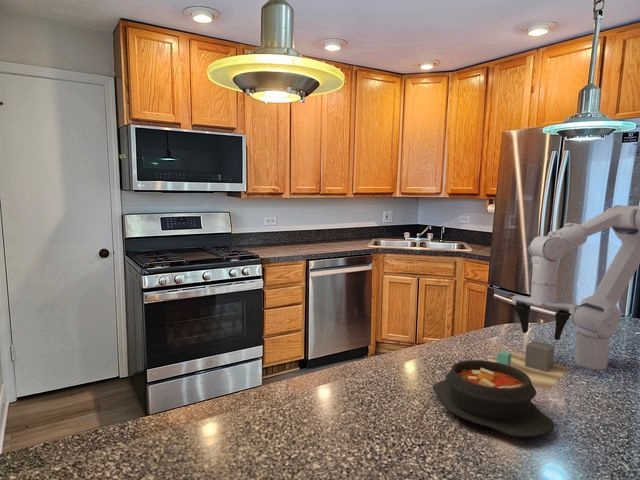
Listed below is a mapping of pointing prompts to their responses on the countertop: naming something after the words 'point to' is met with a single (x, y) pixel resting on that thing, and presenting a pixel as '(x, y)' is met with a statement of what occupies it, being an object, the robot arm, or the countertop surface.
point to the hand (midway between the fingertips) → (540, 335)
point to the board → (537, 372)
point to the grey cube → (539, 356)
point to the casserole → (493, 398)
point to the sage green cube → (504, 358)
